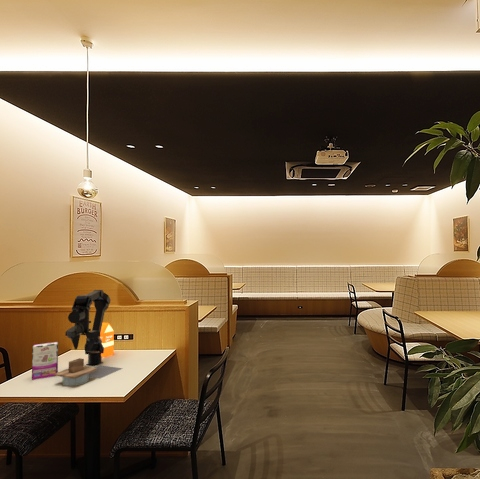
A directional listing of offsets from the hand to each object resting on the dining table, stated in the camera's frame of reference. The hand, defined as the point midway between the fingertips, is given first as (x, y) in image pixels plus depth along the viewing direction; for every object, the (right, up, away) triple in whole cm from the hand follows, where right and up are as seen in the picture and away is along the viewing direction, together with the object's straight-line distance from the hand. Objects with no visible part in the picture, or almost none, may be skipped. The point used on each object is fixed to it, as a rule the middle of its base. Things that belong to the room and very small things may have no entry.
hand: (82, 350), depth 168 cm
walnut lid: (+3, -7, -12) cm, 14 cm away
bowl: (+3, -11, -13) cm, 17 cm away
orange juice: (-3, -15, +33) cm, 36 cm away
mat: (+8, -12, +1) cm, 15 cm away
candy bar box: (-17, -12, -5) cm, 21 cm away
